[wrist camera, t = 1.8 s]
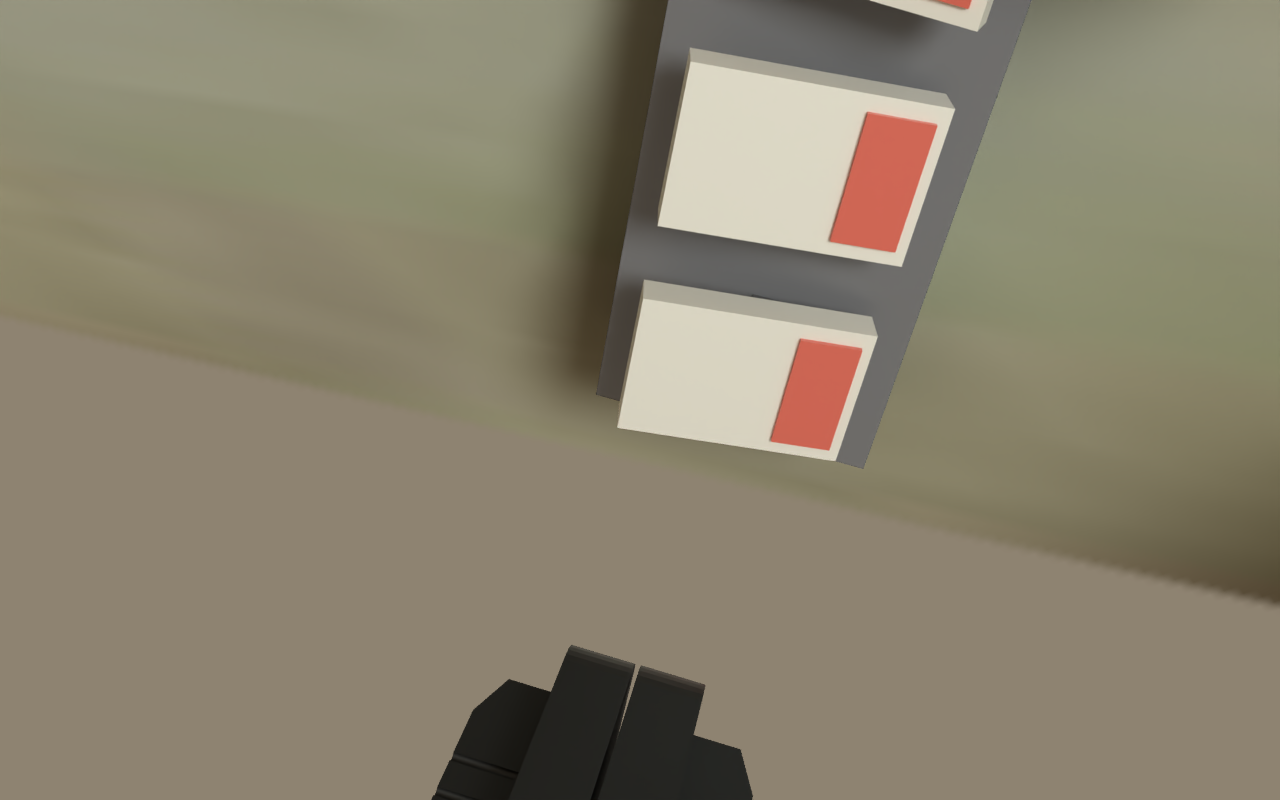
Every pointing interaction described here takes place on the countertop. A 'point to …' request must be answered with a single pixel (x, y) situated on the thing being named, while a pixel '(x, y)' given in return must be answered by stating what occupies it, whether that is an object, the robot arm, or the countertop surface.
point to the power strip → (893, 296)
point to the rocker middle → (801, 157)
